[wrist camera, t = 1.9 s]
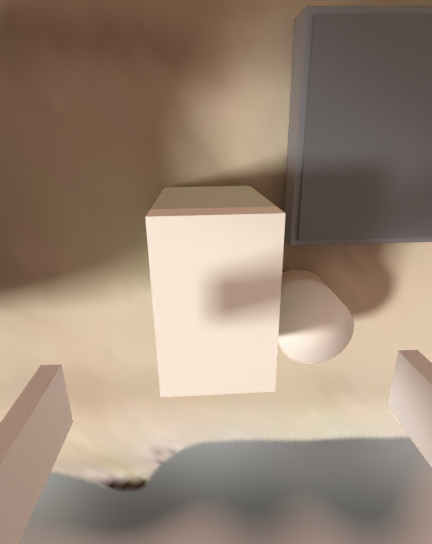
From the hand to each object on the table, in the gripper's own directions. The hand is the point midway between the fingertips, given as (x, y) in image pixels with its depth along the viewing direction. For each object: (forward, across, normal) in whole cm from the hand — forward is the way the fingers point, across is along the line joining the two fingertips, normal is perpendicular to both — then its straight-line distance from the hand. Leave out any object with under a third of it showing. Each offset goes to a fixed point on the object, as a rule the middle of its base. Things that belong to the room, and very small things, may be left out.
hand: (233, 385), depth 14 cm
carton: (+18, 0, 0) cm, 18 cm away
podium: (+18, +13, +9) cm, 24 cm away
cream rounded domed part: (+18, +8, -5) cm, 20 cm away
